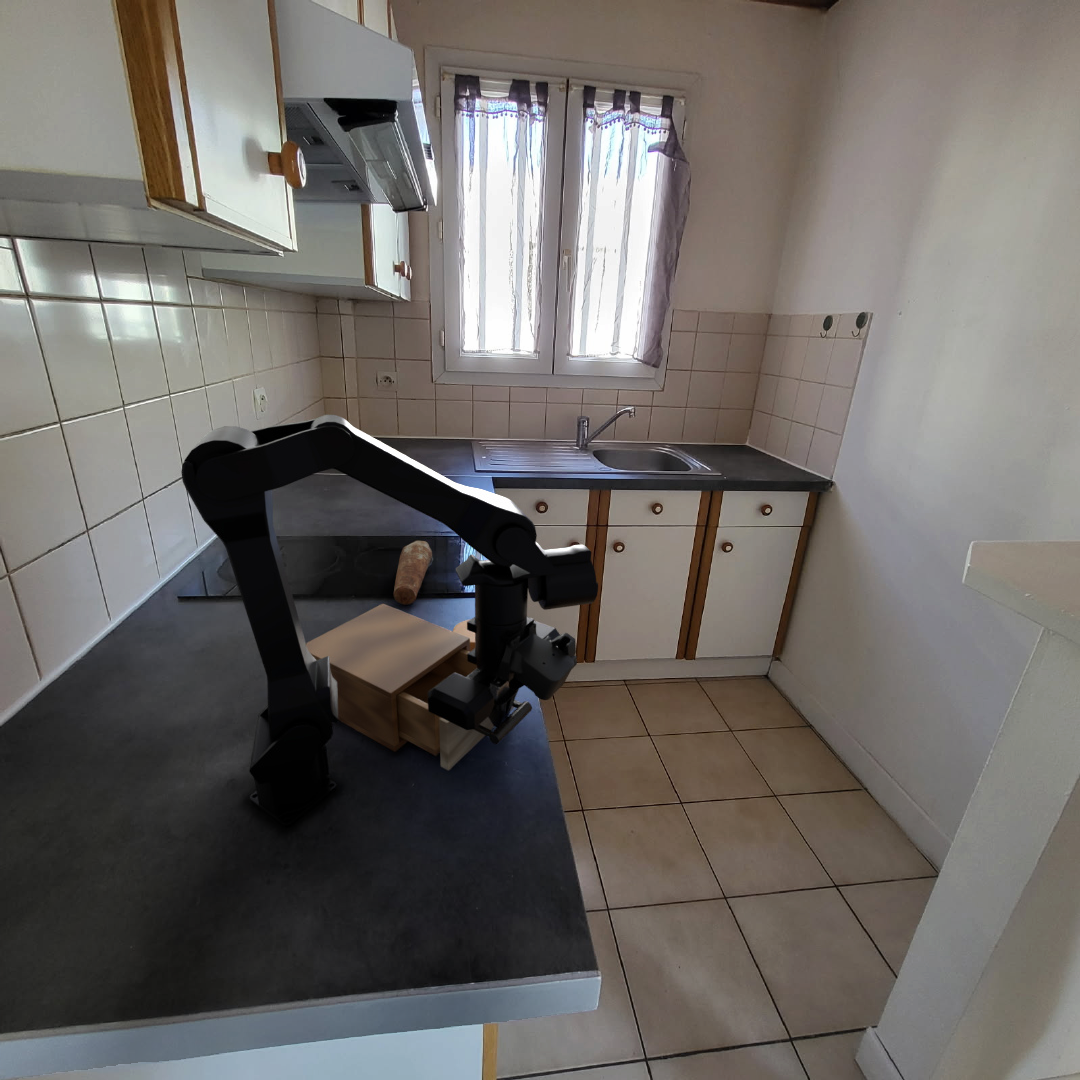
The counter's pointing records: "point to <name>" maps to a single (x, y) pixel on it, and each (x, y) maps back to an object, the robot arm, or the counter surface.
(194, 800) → the counter surface
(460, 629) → the tan round cylinder
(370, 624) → the cabinet
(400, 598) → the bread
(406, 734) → the drawer
